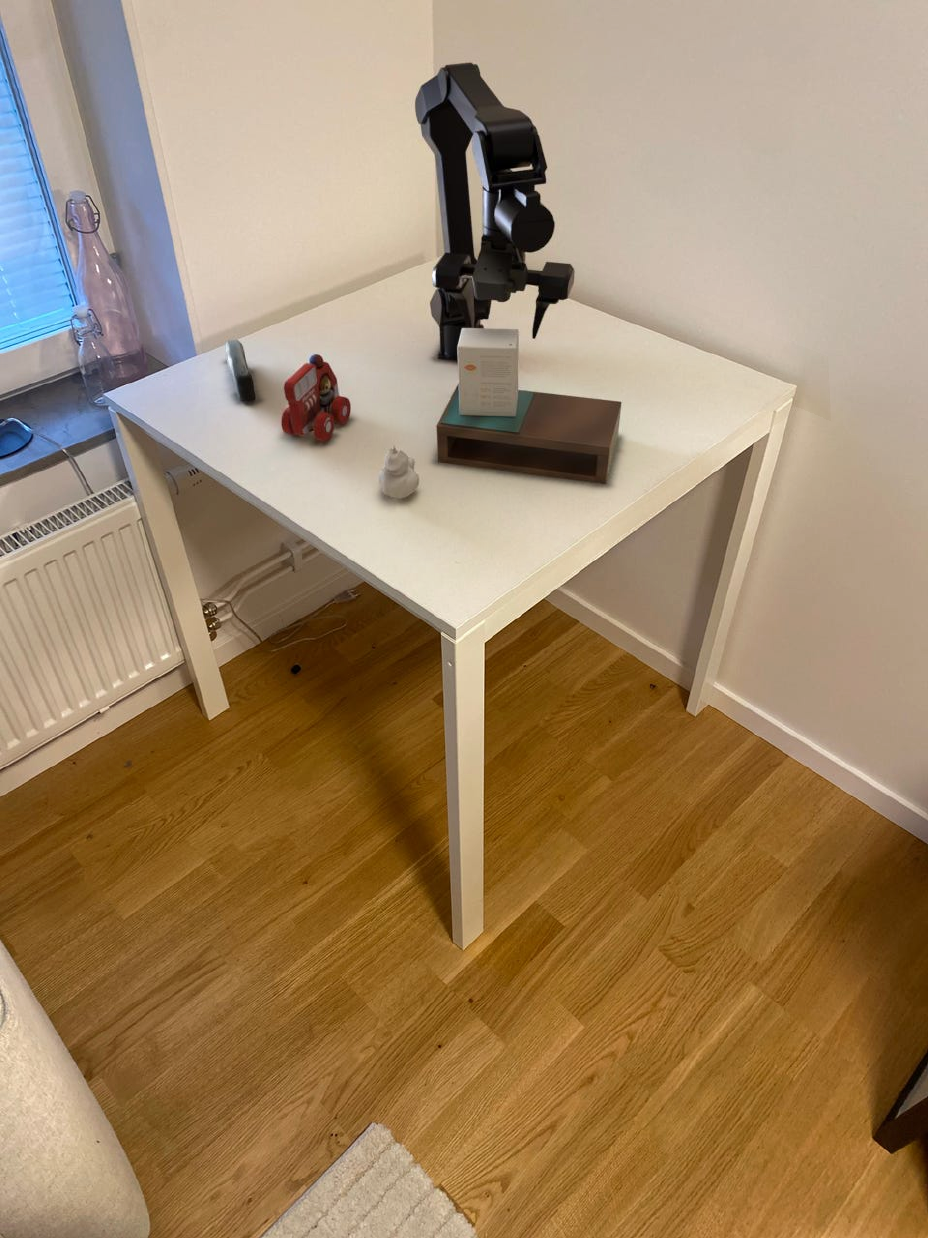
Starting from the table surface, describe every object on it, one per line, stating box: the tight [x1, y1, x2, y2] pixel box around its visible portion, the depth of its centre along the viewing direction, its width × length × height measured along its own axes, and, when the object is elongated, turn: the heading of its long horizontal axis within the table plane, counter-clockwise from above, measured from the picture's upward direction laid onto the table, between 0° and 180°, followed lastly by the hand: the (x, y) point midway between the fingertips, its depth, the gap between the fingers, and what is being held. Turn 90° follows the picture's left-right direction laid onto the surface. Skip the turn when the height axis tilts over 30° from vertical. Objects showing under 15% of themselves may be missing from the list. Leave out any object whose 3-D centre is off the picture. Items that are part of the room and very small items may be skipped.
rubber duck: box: [378, 445, 420, 499], centre depth 125 cm, size 5×7×8 cm
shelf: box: [435, 382, 623, 485], centre depth 133 cm, size 24×12×6 cm, turn 75°
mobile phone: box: [225, 339, 257, 403], centre depth 149 cm, size 5×3×15 cm
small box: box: [457, 327, 520, 417], centre depth 128 cm, size 8×6×10 cm
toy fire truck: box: [280, 353, 352, 442], centre depth 137 cm, size 7×12×10 cm, turn 157°
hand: (502, 333), depth 133 cm, fingers open, 9 cm apart
